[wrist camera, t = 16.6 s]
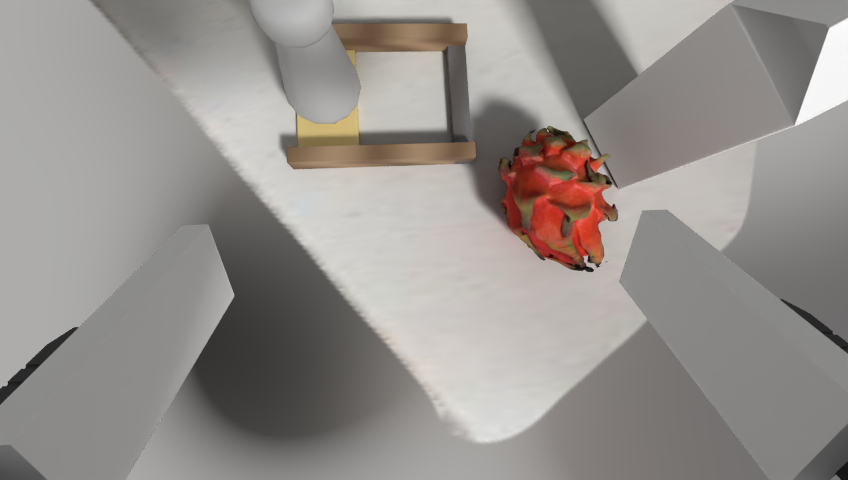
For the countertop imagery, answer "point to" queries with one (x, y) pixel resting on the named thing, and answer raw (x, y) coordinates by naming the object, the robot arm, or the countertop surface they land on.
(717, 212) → the countertop surface
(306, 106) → the salt shaker
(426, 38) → the channel
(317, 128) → the yellow panel
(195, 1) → the countertop surface
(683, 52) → the milk carton
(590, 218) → the dragon fruit
